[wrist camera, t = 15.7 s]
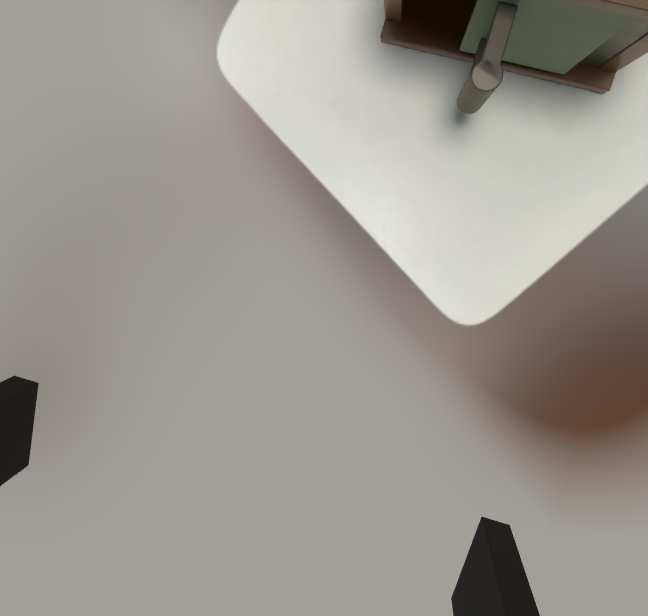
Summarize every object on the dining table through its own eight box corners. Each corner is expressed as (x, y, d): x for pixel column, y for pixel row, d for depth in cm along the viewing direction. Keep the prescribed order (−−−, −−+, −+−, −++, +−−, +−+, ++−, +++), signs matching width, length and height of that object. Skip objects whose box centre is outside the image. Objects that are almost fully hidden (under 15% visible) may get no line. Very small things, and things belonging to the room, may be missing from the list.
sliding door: (542, 139, 36) (603, 111, 25) (440, 115, 37) (457, 76, 26) (566, 65, 35) (641, 3, 24) (461, 41, 36) (488, -31, 25)
